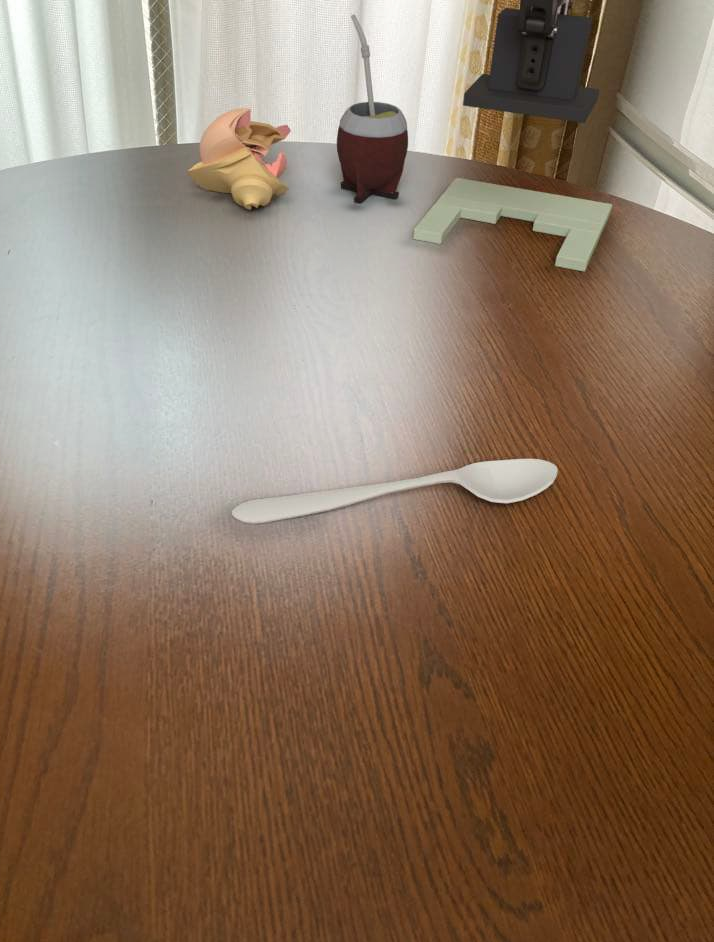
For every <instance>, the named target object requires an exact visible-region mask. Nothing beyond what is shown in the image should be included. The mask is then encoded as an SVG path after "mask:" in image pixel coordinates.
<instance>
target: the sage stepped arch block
mask: <svg viewBox="0 0 714 942" xmlns="http://www.w3.org/2000/svg"><path fill="white" fill-rule="evenodd" d="M612 209H613V204H612V203H608V202H603V201H602V202H601V201H596V200H591V199H584V198H577V197H572V196H566V195H561V194H554V193H548V192H543V191H538V190H532V189H525V188H520V187H513V186H508V185H501V184H495V183H490V182H485V181H479V180H478V181H477V180H472V179H466V178H461V177H455V179H453V180H452V182H451V183H450V184H449V186H448V187H447V188H446V190H445V191H443V192H442V194H441V196H439V198H437V200H436V201H435V203H434V204H433V205H432V206H431V207H430V209H429V210H428V211H427V213H426V214H425V215H424V216H423V217H422V219H420V221H419V222H418V223H417V225H416V226H415V227H414V229H413V235H412V236H413V237H412V239H413V240H416V241H417V240H418V241H422V242H427V243H432V244H437V245H441V244H442V243H443V242H444V240H445V239H446V238H447V236H449V233H451V231H452V230H453V229H454V227H455V226H456V224H457V223H458V221H459V220H460V219H464V220H465V219H466V220H471V221H476V222H480V223H481V222H482V223H488V224H493V225H496V224H497V223H498V221H499V220H500V218H501V217H504V218H510V219H515V220H521V221H527V222H533V225H532V232H536V233H537V232H538V233H543V234H547V235H554V236H558V237H565V239H564V241H563V242H562V245H561V246H560V249H559V251H558V252H557V255H556V256H555V257H556V258H555V261H554V267H558V268H563V269H568V270H573V271H579V272H586V270H587V268H588V265H589V263H590V260H591V258H592V256H593V254H594V252H595V250H596V247H597V246H598V242H599V240H600V238H601V236H602V234H603V232H604V229H605V228H606V225H607V222H608V220H609V218H610V216H611V213H612Z"/></svg>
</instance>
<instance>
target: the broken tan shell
mask: <svg viewBox="0 0 714 942" xmlns="http://www.w3.org/2000/svg"><path fill="white" fill-rule="evenodd" d="M251 112H252V109H251V108H250V107H249V108H248V107H241V108H234V109H231V110H228V111H226V112H224V113H222V114H220V115H219V116H218V117H216V118H215V119H214V120H213V121H211V122H210V124H209V125H208V126H207V127H206V129H205V130H204V132H203V133H202V135H201V137H200V142H199V156H200V160H201V161H199V162H197V163H195V164H194V165H193V166H192V167H191V168H189V169H188V170H187V172H188V173H189V176H190V177H191V178H192V180H193V181H194V182H195V183H196V184H197V185H198V187H200V188H201V189H202V190H204V191H212V192H217V193H224V194H231V195H232V198H233V201H234V202H235V203H236V204H237V205H239V206H241V207H243V208H244V209H246V210H249V211H250V210H252V207H255V208H256V209H258V207H259V206H262V207H265V206H267V205H268V204H269V203H270V201H271V200H272V197H273V195H275V196H277V197H278V196H281V195H283V194H285V193H286V192H287V191H289V187H288V186H286V184H285V183H284V182H282V181H281V180H280V179H279V178H280V177H281V176H282V175H283V174H284V172H285V171H286V170H287V169H286V168H287V166H288V165H287V164H288V161H287V160H288V159H287V157H286V154H285V153H284V152H283V151H282V152H279V154H278V156H277V159H276V160H275V161H272V164H270V163H265V162H264V161H263V159H262V158H261V156H262V157H264V158H265V157H266V156H267V154H268V152H269V149H270V147H271V146H272V145H274V144H277V143H279V142H281V141H284V140H285V139H286V138H287V137H288V135H290V133H291V132H292V130H291V128H290V127H289V126H288V124H282V125H278V126H273V125H272V124H270V123H266V122H265V123H264V122H259V121H253V120H251Z"/></svg>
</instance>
